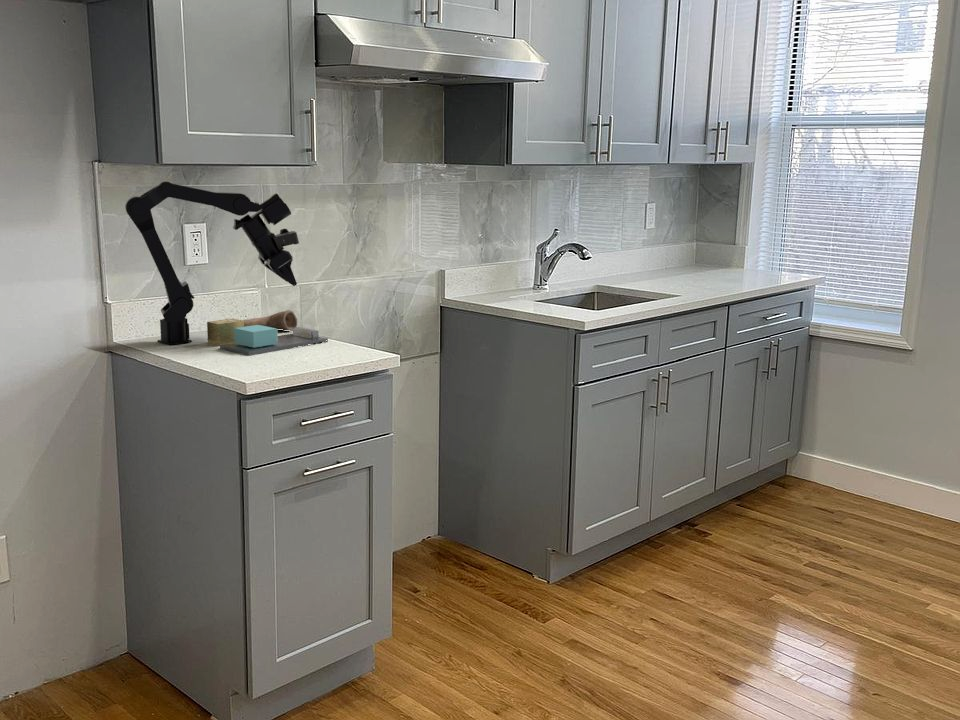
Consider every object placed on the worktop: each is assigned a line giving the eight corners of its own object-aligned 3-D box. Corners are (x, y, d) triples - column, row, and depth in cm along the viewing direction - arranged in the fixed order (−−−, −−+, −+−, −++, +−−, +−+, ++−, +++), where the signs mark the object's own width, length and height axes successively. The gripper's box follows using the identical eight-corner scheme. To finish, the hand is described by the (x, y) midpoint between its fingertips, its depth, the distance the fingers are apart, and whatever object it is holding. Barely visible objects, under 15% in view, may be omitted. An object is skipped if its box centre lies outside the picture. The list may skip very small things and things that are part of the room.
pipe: (230, 314, 267) (244, 313, 259) (284, 310, 277) (300, 308, 269) (233, 337, 268) (247, 337, 260) (287, 331, 278) (302, 331, 270)
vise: (249, 355, 235) (248, 343, 234) (219, 348, 242) (219, 337, 242) (327, 341, 255) (327, 330, 254) (298, 336, 262) (298, 325, 261)
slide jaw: (253, 347, 238) (253, 332, 237) (234, 343, 243) (233, 328, 242) (278, 343, 244) (278, 328, 243) (259, 339, 249) (258, 324, 248)
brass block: (219, 346, 246) (218, 324, 244) (207, 344, 249) (207, 321, 247) (244, 342, 252) (243, 320, 250) (233, 340, 255) (232, 318, 254)
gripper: (291, 220, 245) (324, 270, 251) (278, 216, 262) (309, 263, 268) (255, 244, 243) (289, 293, 249) (244, 238, 260) (276, 285, 266)
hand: (292, 283), depth 258 cm, fingers open, 9 cm apart
